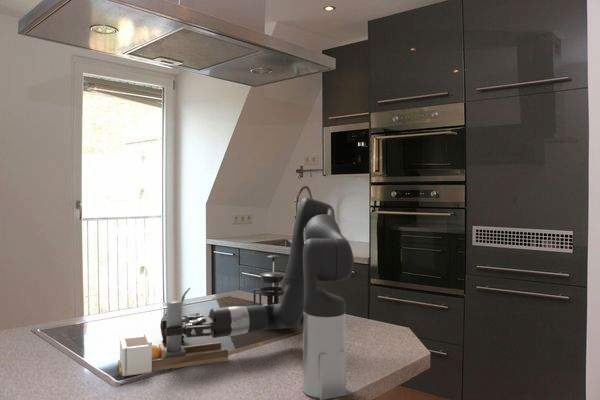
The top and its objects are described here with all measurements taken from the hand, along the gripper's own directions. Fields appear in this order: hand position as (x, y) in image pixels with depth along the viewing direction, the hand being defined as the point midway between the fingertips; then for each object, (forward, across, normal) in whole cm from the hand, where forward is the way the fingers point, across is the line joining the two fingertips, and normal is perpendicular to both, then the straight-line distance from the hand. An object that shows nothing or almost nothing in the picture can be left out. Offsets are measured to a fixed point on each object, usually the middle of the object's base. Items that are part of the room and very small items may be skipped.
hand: (164, 328), depth 117 cm
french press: (-37, -22, +9) cm, 44 cm away
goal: (+7, 0, +9) cm, 11 cm away
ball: (+3, 0, +6) cm, 7 cm away
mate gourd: (-5, -17, +9) cm, 20 cm away
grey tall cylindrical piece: (-2, 0, +8) cm, 8 cm away
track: (-2, 0, +9) cm, 9 cm away
